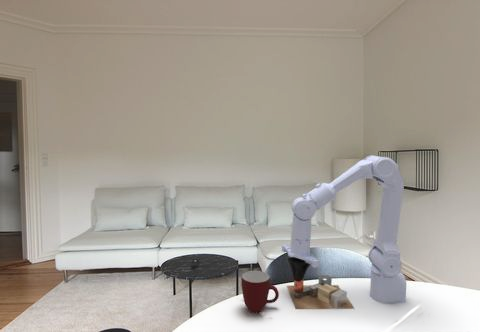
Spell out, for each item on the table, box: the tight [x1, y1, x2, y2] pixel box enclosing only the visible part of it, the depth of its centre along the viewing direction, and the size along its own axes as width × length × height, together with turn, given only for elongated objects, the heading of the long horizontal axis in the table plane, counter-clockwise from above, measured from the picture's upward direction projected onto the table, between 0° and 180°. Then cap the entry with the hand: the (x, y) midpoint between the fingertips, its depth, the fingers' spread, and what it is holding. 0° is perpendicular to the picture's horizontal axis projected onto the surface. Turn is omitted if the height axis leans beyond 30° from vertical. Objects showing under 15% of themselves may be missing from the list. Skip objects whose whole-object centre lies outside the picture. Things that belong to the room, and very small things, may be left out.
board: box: [286, 284, 356, 310], centre depth 99 cm, size 17×15×1 cm
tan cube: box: [318, 284, 337, 304], centre depth 97 cm, size 4×4×4 cm
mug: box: [240, 270, 280, 315], centre depth 92 cm, size 11×8×10 cm
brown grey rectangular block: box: [330, 288, 348, 310], centre depth 94 cm, size 5×2×4 cm, turn 130°
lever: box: [293, 274, 332, 298], centre depth 101 cm, size 14×5×5 cm, turn 120°
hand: (297, 281), depth 98 cm, fingers closed, pressing on lever
